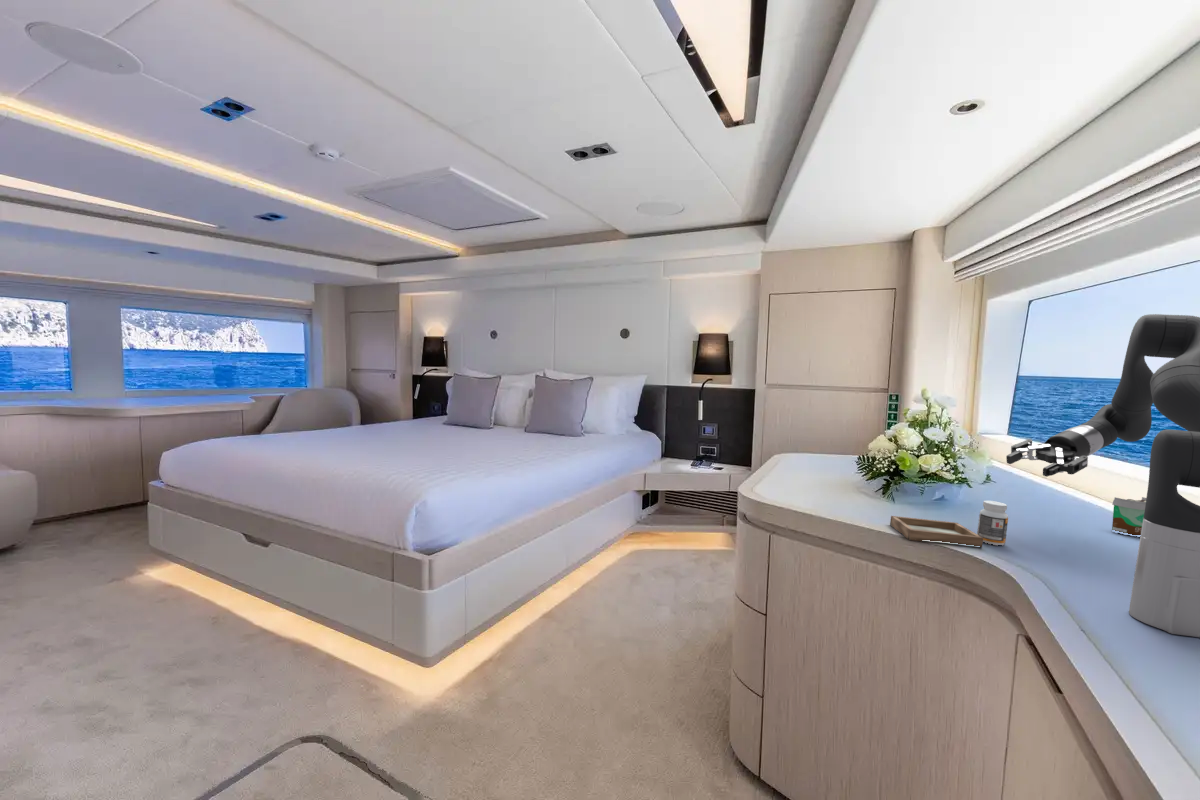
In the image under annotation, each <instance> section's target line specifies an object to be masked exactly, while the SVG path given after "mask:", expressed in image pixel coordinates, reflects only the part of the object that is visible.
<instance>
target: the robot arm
mask: <svg viewBox="0 0 1200 800" xmlns="http://www.w3.org/2000/svg"><path fill="white" fill-rule="evenodd" d="M1127 343H1128V344H1127V348H1126V352H1125V356H1124V361H1123V366H1122V371H1121V377H1120V380H1119V382H1118V385H1117V388H1116V389H1115V392H1114V394H1113V397H1112V399H1111V402H1110V403H1109V404H1105V405H1103V406H1101V408H1100V409H1098V411H1097V412H1096V413H1095V414H1094V416H1092V417H1091V418H1090V419H1089V420H1087V421H1086V422H1084V423H1081V424H1079V425H1077V426H1074V427H1069V428H1067V429H1065V430H1063V431H1060V432H1059V433H1057V434H1055V435H1052V436H1049V438H1047V440H1046V441H1044V443H1039V444H1035V443H1034V442H1033V440H1032V439H1026V440H1024V441H1020V442H1018V443H1016V444H1014V445H1011V447H1010V453H1009V454H1007V455H1006V458H1005V459H1006V464H1009V465H1011V464H1014V463H1016V462H1019V461H1020V460H1029V461H1041V462H1045V463H1049V464H1048V465H1047V466H1044V467H1043V468H1042V476H1043V477H1046V478H1047V477H1050V476H1054V475H1056V474H1058V473H1064V472H1065V473H1066V474H1068V475H1075V474H1076V473H1079V472H1080V471H1082V470H1084V469H1085V468H1087V467H1088V466H1089V465H1088V464H1089V462H1088V461H1089V460H1088V459H1089V456H1091V455H1094V454H1095V453H1097V452H1098V451H1099V450H1101V449H1103V448H1105V447H1108V446H1110V445H1112V444H1113V443H1115V442H1116V440H1117V439H1120V440H1122V441H1123V442H1128V443H1133V442H1138V441H1140V440H1143V439H1144V438H1145V437H1146V436H1147V435H1148V434H1149V432H1150V430H1151V428H1152V421H1153V419H1152V406H1153V405H1154V407H1155V408H1156V410H1157V411H1158V412H1159V413H1160V414H1161V415H1162V416H1163V417H1165V418H1166V419H1168V420H1169V421H1171V422H1173V423H1174V424H1176V425H1177V426H1179V427H1181V428H1182V429H1184V430H1179V429H1163V430H1160V431H1159V432H1158V433H1157V434H1156V435H1155V437H1154V439H1153V441H1152V445H1151V448H1150V456H1149V457H1150V458H1149V472H1148V473H1149V474H1148V482H1147V492H1146V497H1145V498H1146V505H1145V512H1144V518H1143V524H1142V530H1141V536H1140V538H1139V543H1138V549H1137V556H1136V562H1135V568H1134V569H1135V570H1134V574H1133V582H1132V587H1131V596H1130V602H1129V610H1128V613H1129V615H1130V616H1131V617H1133V618H1134V619H1136V620H1137V621H1140V622H1142V623H1143V624H1146V625H1148V626H1152V627H1153V628H1157V629H1160V630H1163V631H1165V632H1167V633H1168V634H1172V635H1178V636H1180V635H1181V636H1187V637H1194V638H1195V637H1196V638H1200V505H1198V504H1196V503H1195V502H1193V501H1190V500H1188V499H1187V498H1185V497H1184V496H1182V495H1181V494H1180V493H1179V491H1178V485H1179V486H1185V487H1191V488H1199V489H1200V316H1195V315H1187V314H1185V315H1183V314H1181V315H1180V314H1161V313H1155V314H1154V313H1153V314H1144V315H1142V316H1140V317H1139V318H1138V319H1137V320H1136V322H1135V324H1134V325H1133V327H1132V330H1131V334H1130V336H1129V340H1128V342H1127ZM1145 357H1151V358H1163V359H1164V358H1165V359H1171V360H1169V361H1167V362H1166V363H1164V364H1163V365H1161V366H1160V367H1159V368H1158V369H1157V370H1156V371H1155V372H1153V371H1152V370H1151V368H1150V367H1149V365H1148V364H1147V362H1146V359H1145ZM1033 451H1035V455H1033ZM1024 453H1026V454H1024Z"/></svg>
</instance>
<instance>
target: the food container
mask: <svg viewBox="0 0 1200 800" xmlns="http://www.w3.org/2000/svg"><path fill="white" fill-rule="evenodd" d="M1112 505H1113V512H1112V514H1113V515H1112V525H1111V531H1112V530H1115V531H1119V532H1123V533H1128V534H1132V535H1141V530H1142V524H1143V518H1144V512H1145V505H1146V497H1144V496H1142V497H1141V499H1138V500H1137V499H1131V498H1128V499H1125V498H1119V497H1114V498H1113V500H1112Z"/></svg>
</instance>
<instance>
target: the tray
mask: <svg viewBox="0 0 1200 800" xmlns="http://www.w3.org/2000/svg"><path fill="white" fill-rule="evenodd" d="M889 526H891V527H892V528H893V527H894V528H893V529H894V530H896V531H897V530H898V531H899V532H898V531H897V532H898V533H900V534H901V533H902V534H903V535H904V537H905V538H906V539H907V540H909V541H914V542H922V540H930V541H942V542H950V543H958V544H966V545H974V546H980V547H982V548H983V544H984V543H983V538H982V537H981V536H979V535H977V532H976V533H975V531H973V530H970V529H969V528H967V527H965V526H963V525H962V524H960V523H959V522H955V521H954V522H953V521H946V520H945V521H944V520H936V519H935V520H933V519H925V518H924V519H923V518H916V517H907V516H897V515H891V516H890V521H889ZM902 534H901V535H902ZM903 535H902V536H903Z"/></svg>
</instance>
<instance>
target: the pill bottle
mask: <svg viewBox="0 0 1200 800" xmlns="http://www.w3.org/2000/svg"><path fill="white" fill-rule="evenodd" d="M982 507H983V508H982V509H980V511H979V515H978V522H977V523H978V524H977V532H976V534H977V535H979V536H981V537H982V538H983V542H985V543H984V544H987V543H988V545H991V544H993V545H992V546H998V545H1002V546H1005V545H1006V540H1007V539H1006V538H1007V531H1008V525H1009V524H1008V522H1009V515H1008V514H1007V513H1006V512H1007V509H1008V505H1007V504H1006V503H1003V502H999V501H995V500H983V503H982Z"/></svg>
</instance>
